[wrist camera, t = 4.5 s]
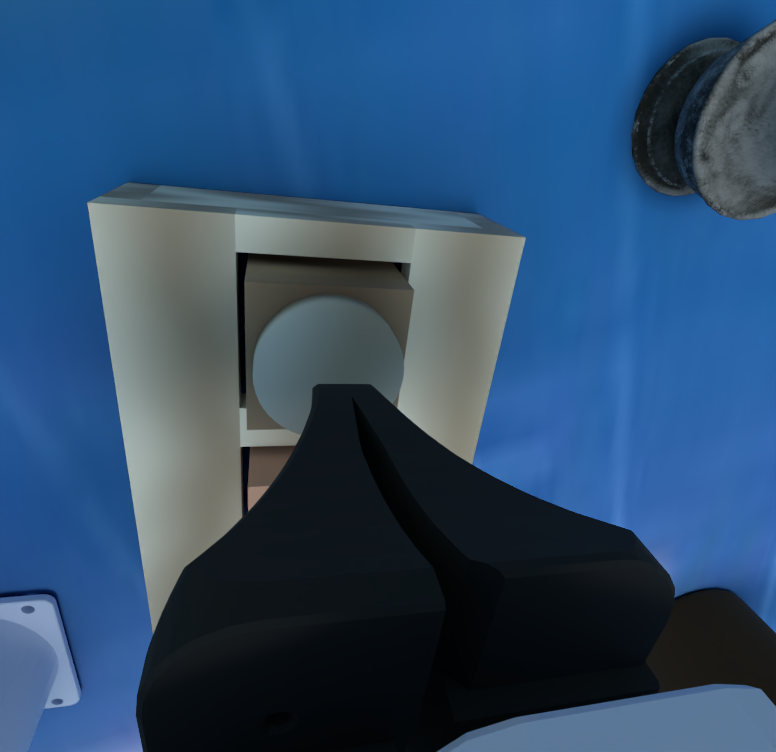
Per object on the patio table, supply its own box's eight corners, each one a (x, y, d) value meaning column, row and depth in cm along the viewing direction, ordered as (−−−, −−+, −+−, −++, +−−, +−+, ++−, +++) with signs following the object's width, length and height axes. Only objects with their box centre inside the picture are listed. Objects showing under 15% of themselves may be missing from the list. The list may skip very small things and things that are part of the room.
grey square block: (176, 606, 25) (161, 687, 21) (127, 182, 16) (87, 202, 12) (407, 584, 28) (427, 652, 24) (478, 213, 19) (525, 237, 15)
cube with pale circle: (250, 378, 17) (245, 446, 14) (248, 250, 15) (242, 291, 12) (375, 378, 18) (400, 442, 15) (389, 259, 16) (422, 300, 13)
